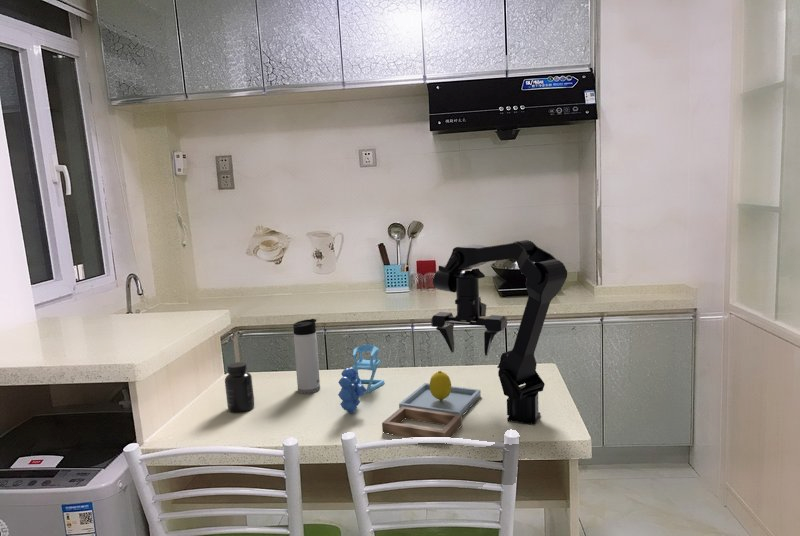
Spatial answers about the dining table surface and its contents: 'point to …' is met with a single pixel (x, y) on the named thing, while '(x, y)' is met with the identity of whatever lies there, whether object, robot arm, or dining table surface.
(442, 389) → the lemon
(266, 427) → the dining table surface
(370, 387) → the chair
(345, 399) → the grapes
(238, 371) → the supplement bottle
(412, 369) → the dining table surface
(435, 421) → the holder
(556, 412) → the dining table surface
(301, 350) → the travel mug
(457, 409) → the tray
